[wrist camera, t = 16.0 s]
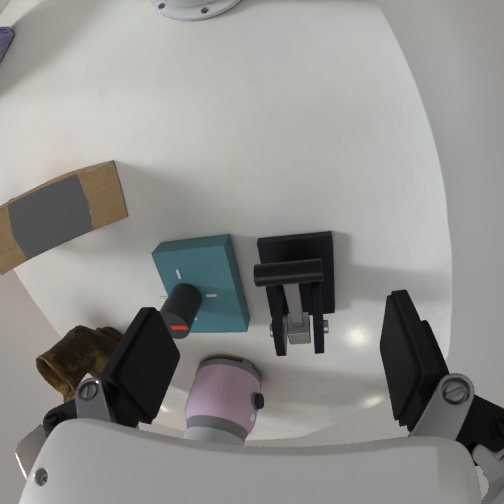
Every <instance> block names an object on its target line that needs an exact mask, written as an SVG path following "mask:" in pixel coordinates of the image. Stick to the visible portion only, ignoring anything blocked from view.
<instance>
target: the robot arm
mask: <svg viewBox="0 0 504 504" xmlns="http://www.w3.org/2000/svg"><path fill="white" fill-rule="evenodd" d="M240 1H241V0H150V2H151V4H152V6H153V7H154V8H155V9H156V10H157V11H158V12H160V13H161V14H163V15H165V16H167V17H169V18H172V19H176V20H181V21H194V20H202V19H206V18H210V17H213V16H216V15H218V14H221V13H223V12H225V11H227V10H228V9H230V8H232V7H233V6H234V5H236V4H237V3H239V2H240ZM206 11H208V12H207V13H206V14H205V12H206ZM380 352H381V357H382V361H383V365H384V370H385V374H386V379H387V384H388V389H389V394H390V399H391V404H392V409H393V416H394V419H395V420H399V425H400V426H405V425H407V429H408V431H409V432H410V434H409V435H408V437H399V438H392V439H384V440H376V441H368V442H360V443H351V444H341V445H340V444H339V445H326V446H308V447H264V446H244V445H231V444H221V443H212V442H204V441H197V440H190V439H184V438H178V437H172V436H167V435H161V434H157V433H152V432H148V431H144V430H140V429H139V427H138V423H139V421H140V422H142V423H146V424H151V423H152V420H153V419H155V418H156V416H157V414H158V412H159V409H160V406H161V404H162V401H163V399H164V396H165V394H166V391H167V389H168V386H169V384H170V381H171V379H172V376H173V374H174V371H175V369H176V367H177V364H178V362H179V359H180V353H179V350H178V348H177V346H176V345H175V343H174V341H173V339H172V337H171V335H170V333H169V330H168V328H167V326H166V324H165V322H164V320H163V318H162V316H161V314H160V312H159V311H157V310H156V308H154V307H143V308H141V309H140V311H139V312H138V314H137V315H136V317H135V318H134V320H133V321H132V323H131V325H130V326H129V328H128V329H127V331H126V332H125V334H124V336H123V337H122V339H121V340H120V342H119V344H118V345H117V347H116V349H115V350H114V352H113V354H112V355H111V357H110V359H109V360H108V362H107V364H106V365H105V367H104V369H103V370H102V372H101V374H100V376H101V378H102V379H101V381H100V380H98V379H96V378H89V379H86V380H84V381H82V382H81V383H80V384H79V385H78V387H77V389H76V391H75V398H74V399H72V400H70V401H68V402H66V403H64V404H62V405H60V406H58V407H55V408H54V409H52V410H50V411H49V412H48V413H47V414H46V416H45V417H44V421H43V426H42V425H41V424H40V425H39V426H38V427H36V429H34V430H33V431H32V432H30V433H29V434H28V435H27V436H26V437H25V438H23V439H22V440H21V441H20V442H19V443H18V444H17V446H16V451H15V452H16V457H17V459H18V462H19V464H20V467H21V469H22V471H23V474H24V476H25V478H26V480H27V482H26V485H25V487H24V490H23V493H22V496H21V499H20V502H19V504H504V409H503V408H502V407H499V406H497V405H495V404H493V403H491V402H489V401H487V400H485V399H483V398H481V397H479V396H477V395H475V394H474V386H473V384H472V382H471V381H470V379H469V378H468V377H466V376H464V375H463V374H458V373H453V374H449V371H448V368H447V366H446V363H445V360H444V358H443V355H442V353H441V350H440V348H439V345H438V343H437V341H436V338H435V336H434V334H433V332H432V329H431V327H430V325H429V323H428V321H426V320H423V321H421V320H420V318H419V315H418V313H417V311H416V309H415V307H414V304H413V302H412V300H411V298H410V296H409V294H408V292H407V290H397V291H392V293H391V295H388V296H387V299H386V307H385V314H384V321H383V328H382V334H381V340H380ZM475 466H480V467H481V468H482V469H483V471H484V473H483V474H484V476H485V477H486V478H487V480H488V481H489V489H488V492H487V494H486V495H485V497H484V498H483V499H482V500H481V493H480V487H479V481H478V476H477V472H476V469H475Z"/></svg>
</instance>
